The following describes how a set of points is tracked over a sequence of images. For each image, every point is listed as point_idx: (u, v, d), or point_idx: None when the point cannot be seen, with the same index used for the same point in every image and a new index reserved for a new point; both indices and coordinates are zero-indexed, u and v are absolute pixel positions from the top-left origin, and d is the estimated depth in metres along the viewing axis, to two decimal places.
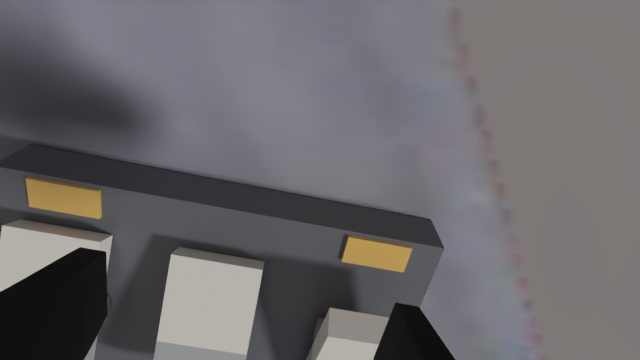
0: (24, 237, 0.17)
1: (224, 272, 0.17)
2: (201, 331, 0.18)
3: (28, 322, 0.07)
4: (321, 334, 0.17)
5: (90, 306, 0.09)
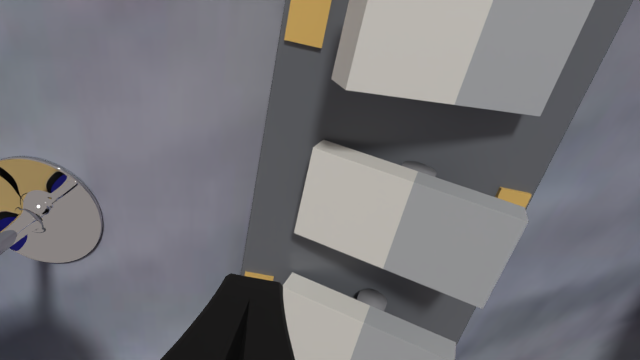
0: None
1: (314, 187, 0.16)
2: (377, 223, 0.15)
3: (229, 354, 0.07)
4: None
5: None
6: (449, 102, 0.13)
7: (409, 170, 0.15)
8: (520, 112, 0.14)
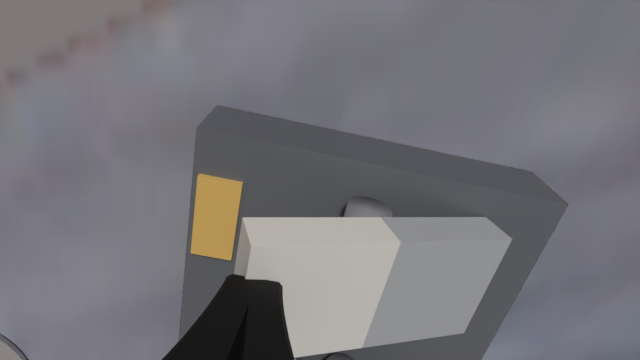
0: None
1: None
2: None
3: (230, 354, 0.07)
4: None
5: None
6: (355, 347, 0.12)
7: None
8: (440, 335, 0.13)
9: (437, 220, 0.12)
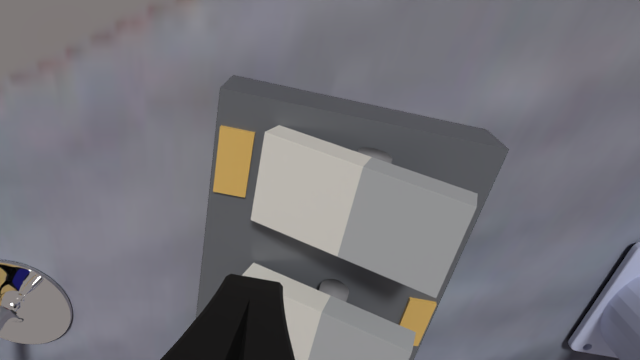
0: None
1: None
2: (296, 340, 0.18)
3: (229, 354, 0.07)
4: None
5: None
6: (332, 253, 0.16)
7: (322, 295, 0.18)
8: (409, 286, 0.15)
9: (419, 175, 0.14)
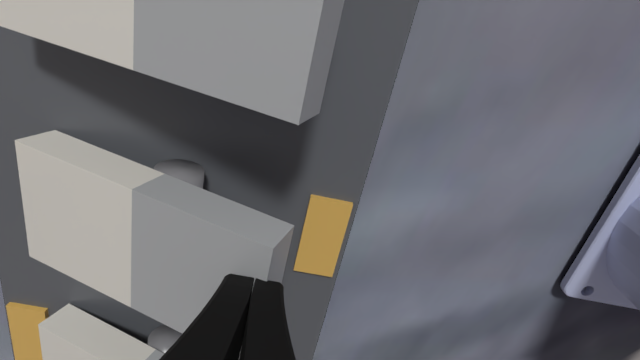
0: None
1: (32, 195, 0.11)
2: (109, 247, 0.11)
3: (227, 354, 0.07)
4: None
5: (243, 331, 0.09)
6: (125, 65, 0.09)
7: (150, 172, 0.11)
8: (252, 107, 0.08)
9: None
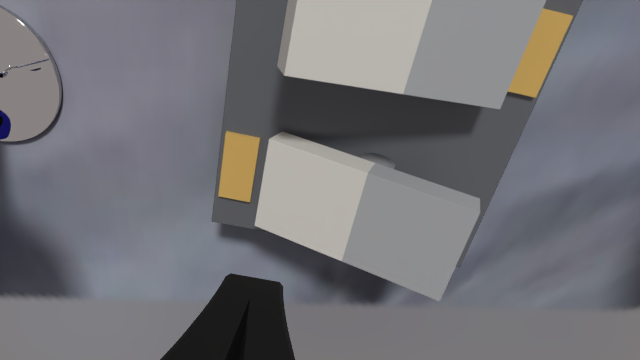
0: (265, 209, 0.16)
1: None
2: (399, 30, 0.12)
3: (229, 354, 0.07)
4: None
5: None
6: None
7: None
8: None
9: None
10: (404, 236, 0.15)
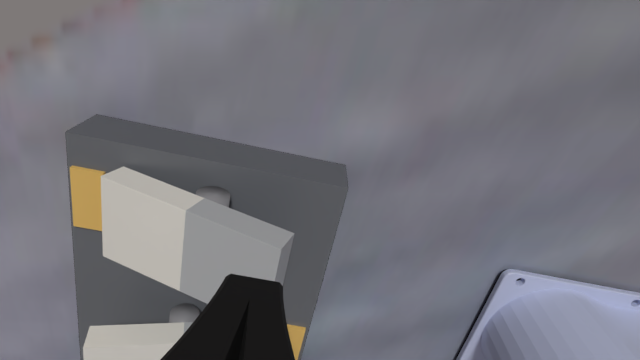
0: None
1: None
2: None
3: (228, 355, 0.07)
4: None
5: None
6: (175, 288, 0.17)
7: (177, 326, 0.19)
8: None
9: (243, 216, 0.15)
10: None
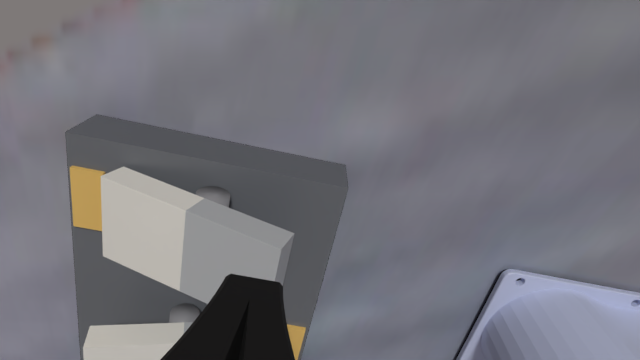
0: None
1: None
2: None
3: (229, 354, 0.07)
4: None
5: None
6: (175, 288, 0.17)
7: (177, 326, 0.19)
8: None
9: (243, 216, 0.15)
10: None
